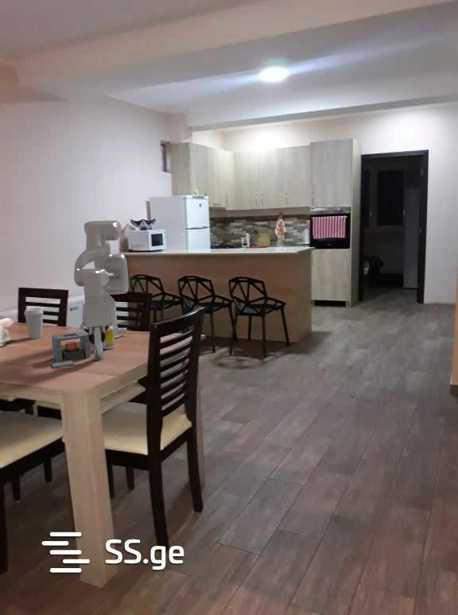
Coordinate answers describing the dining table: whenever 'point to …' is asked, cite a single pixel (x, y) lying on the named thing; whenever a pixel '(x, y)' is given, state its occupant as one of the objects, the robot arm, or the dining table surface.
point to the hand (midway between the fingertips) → (97, 342)
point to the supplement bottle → (109, 339)
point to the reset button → (71, 346)
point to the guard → (71, 355)
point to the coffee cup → (34, 322)
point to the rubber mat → (62, 364)
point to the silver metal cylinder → (97, 343)
